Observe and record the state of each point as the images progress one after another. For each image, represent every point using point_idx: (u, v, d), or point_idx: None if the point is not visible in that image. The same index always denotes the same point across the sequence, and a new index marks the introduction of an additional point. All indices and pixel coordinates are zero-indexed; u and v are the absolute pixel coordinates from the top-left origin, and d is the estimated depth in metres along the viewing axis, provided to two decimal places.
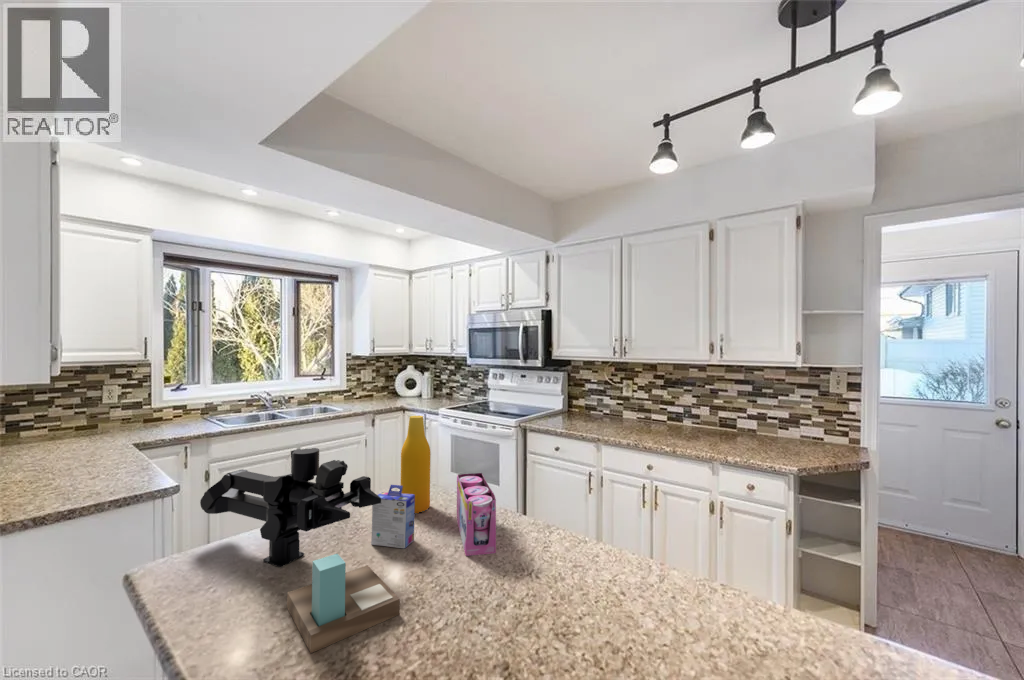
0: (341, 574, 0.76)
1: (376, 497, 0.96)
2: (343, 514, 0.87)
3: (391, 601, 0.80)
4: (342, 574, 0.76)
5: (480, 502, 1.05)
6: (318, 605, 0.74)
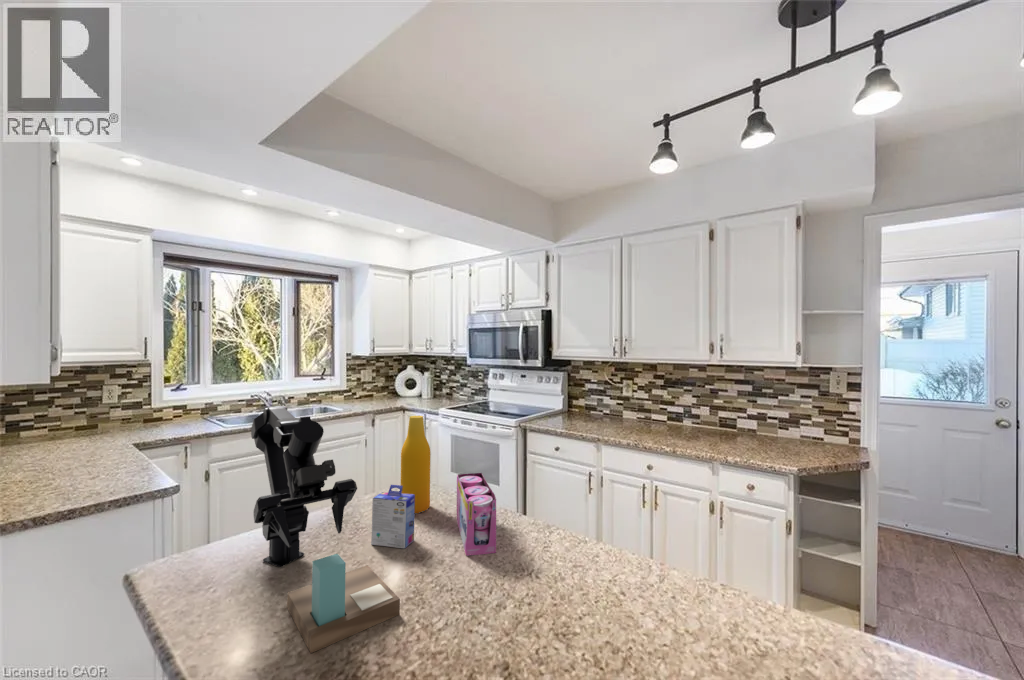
0: (341, 574, 0.76)
1: (338, 526, 0.86)
2: (286, 541, 0.80)
3: (391, 601, 0.80)
4: (342, 574, 0.76)
5: (481, 501, 1.05)
6: (318, 605, 0.74)
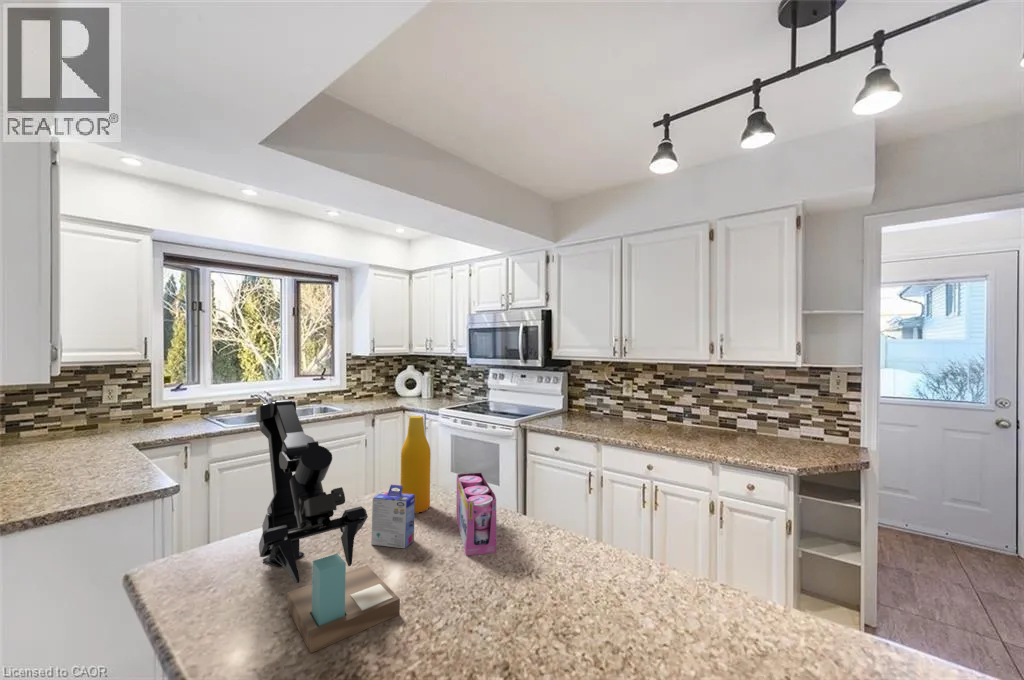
0: (341, 574, 0.76)
1: (348, 558, 0.81)
2: (294, 577, 0.75)
3: (391, 601, 0.80)
4: (342, 574, 0.76)
5: (481, 501, 1.06)
6: (318, 605, 0.74)
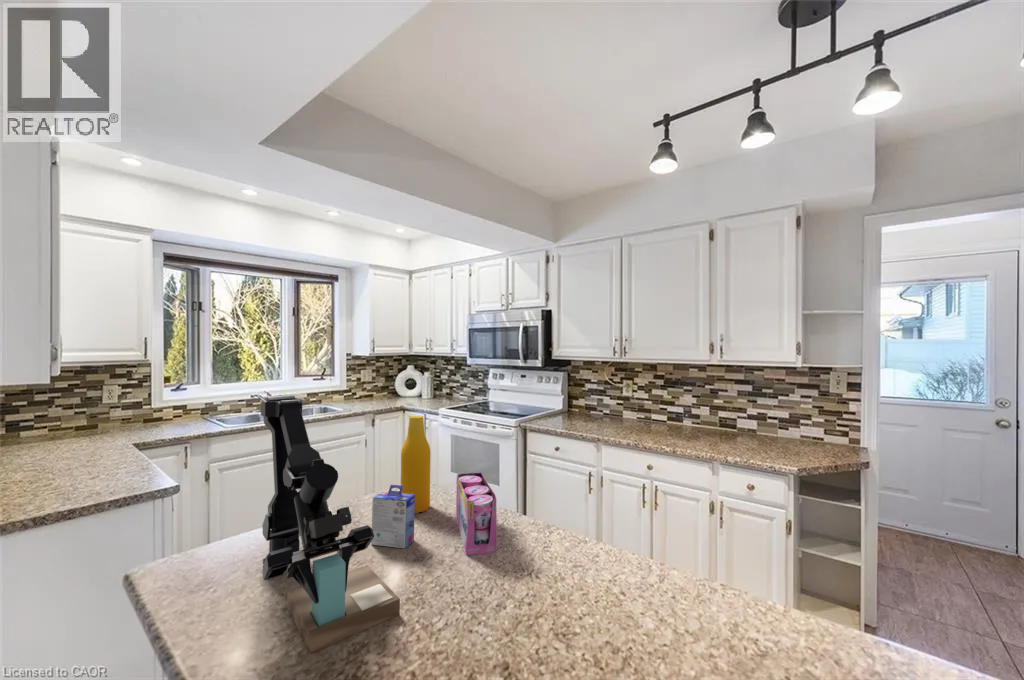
0: (341, 574, 0.76)
1: None
2: (312, 597, 0.74)
3: (391, 601, 0.80)
4: (342, 574, 0.76)
5: (481, 501, 1.06)
6: (318, 605, 0.74)
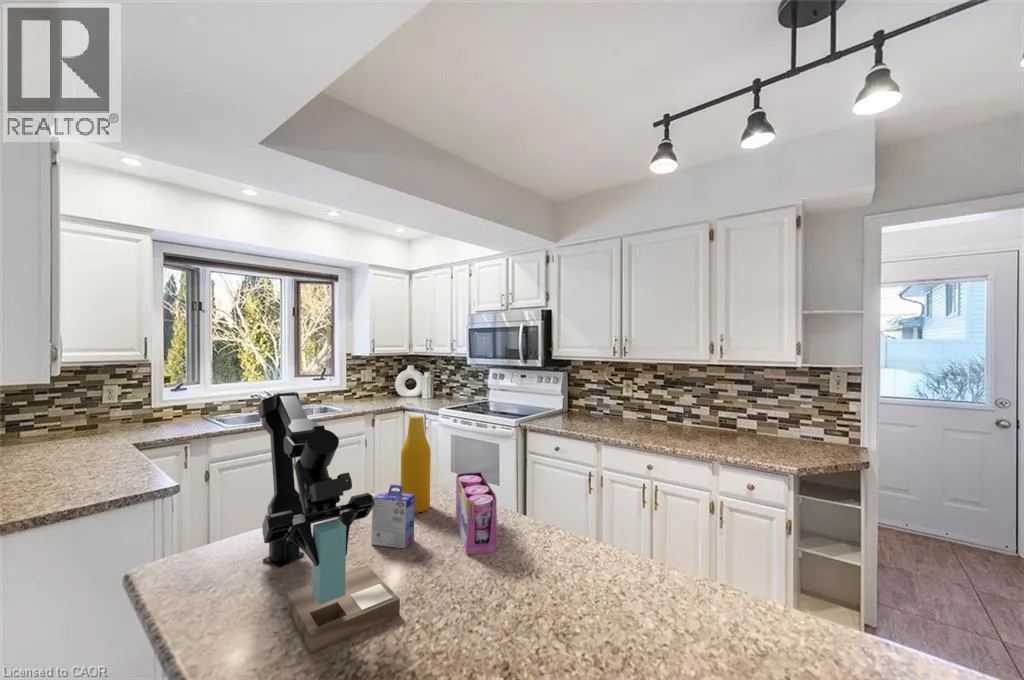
0: (342, 537, 0.76)
1: None
2: (313, 559, 0.74)
3: (391, 601, 0.80)
4: (343, 537, 0.76)
5: (481, 501, 1.06)
6: (319, 567, 0.74)
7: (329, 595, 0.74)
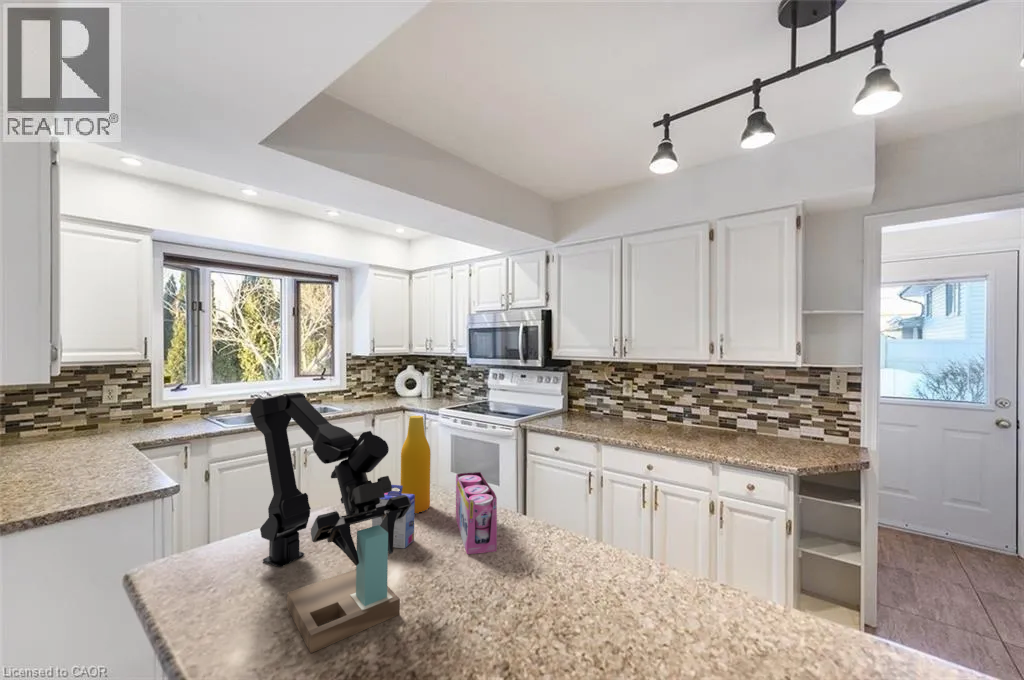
0: (384, 543, 0.81)
1: (390, 546, 0.83)
2: (353, 559, 0.79)
3: (391, 601, 0.80)
4: (385, 543, 0.81)
5: (481, 500, 1.06)
6: (364, 571, 0.79)
7: (373, 597, 0.80)
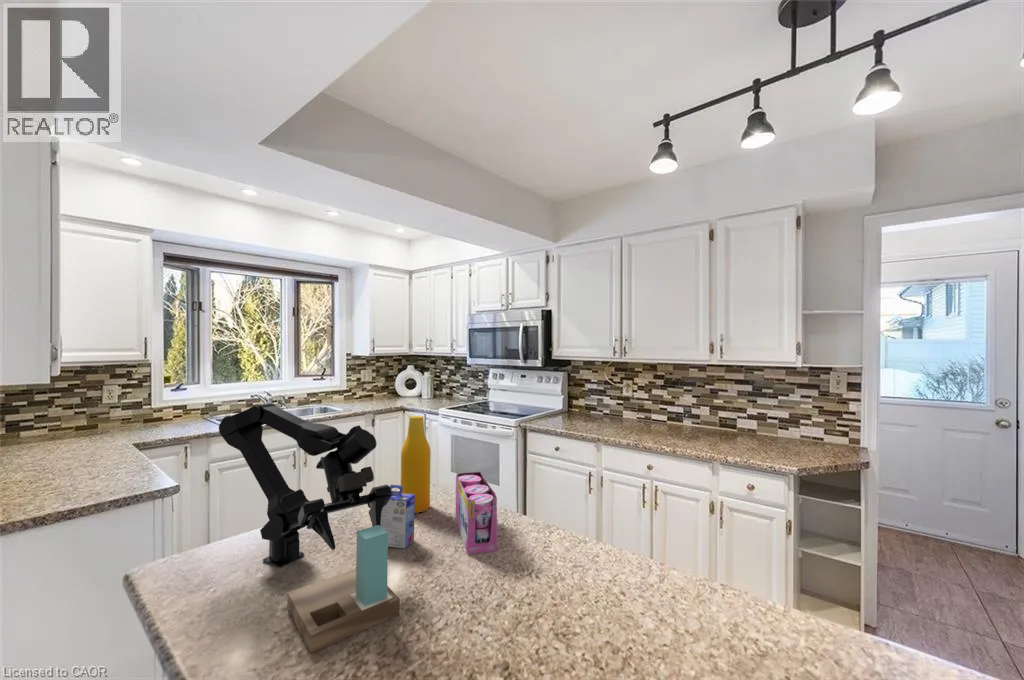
0: (384, 543, 0.81)
1: None
2: (330, 544, 0.85)
3: (391, 601, 0.80)
4: (385, 543, 0.81)
5: (482, 500, 1.06)
6: (364, 571, 0.79)
7: (373, 597, 0.80)
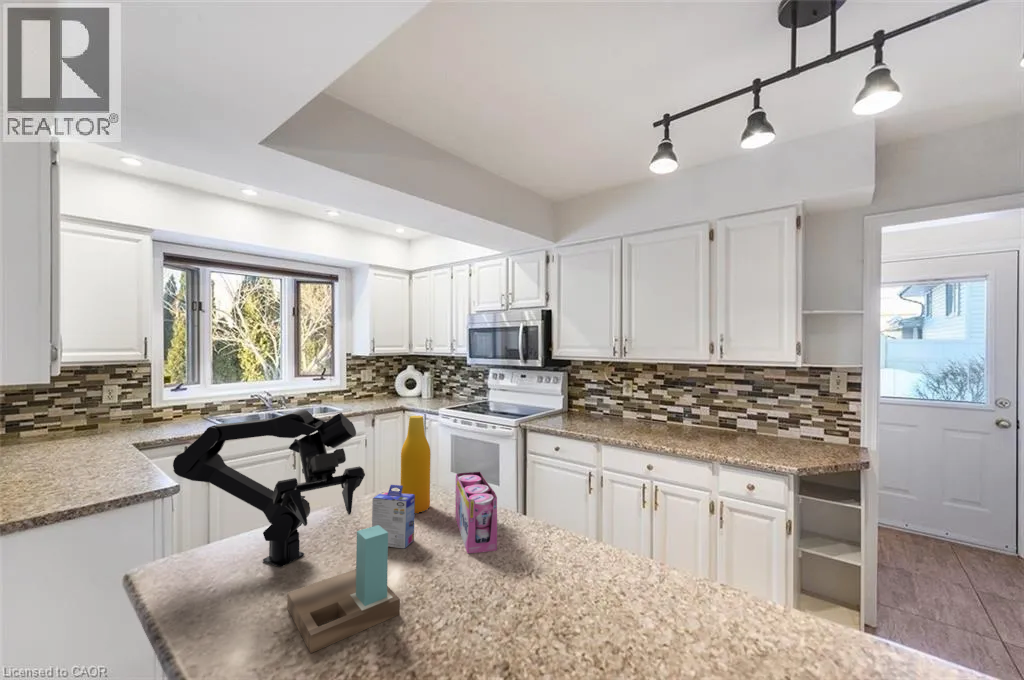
0: (384, 543, 0.81)
1: (348, 508, 0.95)
2: (302, 520, 0.89)
3: (391, 601, 0.80)
4: (385, 543, 0.81)
5: (482, 500, 1.07)
6: (364, 571, 0.79)
7: (373, 597, 0.80)
